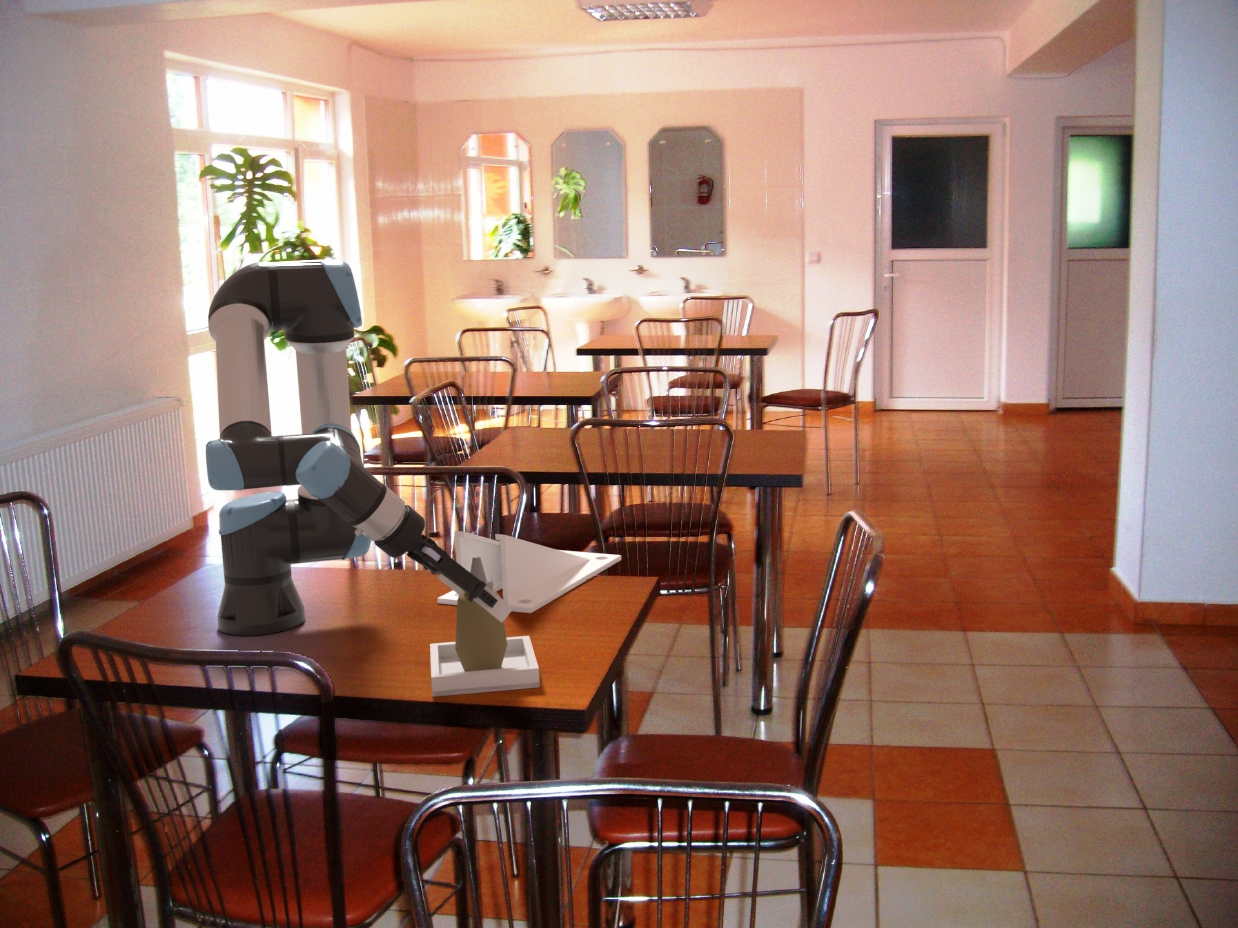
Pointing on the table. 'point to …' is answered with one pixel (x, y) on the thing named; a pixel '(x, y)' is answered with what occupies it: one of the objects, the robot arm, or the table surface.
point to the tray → (513, 674)
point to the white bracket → (526, 569)
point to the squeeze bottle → (479, 630)
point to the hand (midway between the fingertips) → (488, 604)
